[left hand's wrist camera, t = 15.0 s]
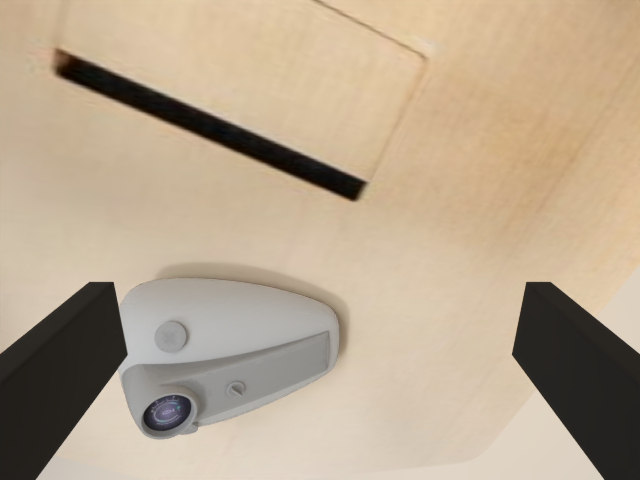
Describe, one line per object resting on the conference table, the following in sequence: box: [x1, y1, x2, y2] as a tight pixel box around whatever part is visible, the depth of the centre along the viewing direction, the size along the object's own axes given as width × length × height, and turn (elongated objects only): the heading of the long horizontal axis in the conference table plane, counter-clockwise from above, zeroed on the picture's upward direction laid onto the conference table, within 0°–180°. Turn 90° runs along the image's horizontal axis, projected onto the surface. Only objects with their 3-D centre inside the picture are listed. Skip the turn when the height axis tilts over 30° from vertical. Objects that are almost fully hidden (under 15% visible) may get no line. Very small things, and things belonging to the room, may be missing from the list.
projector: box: [118, 278, 339, 439], centre depth 40 cm, size 22×23×15 cm
